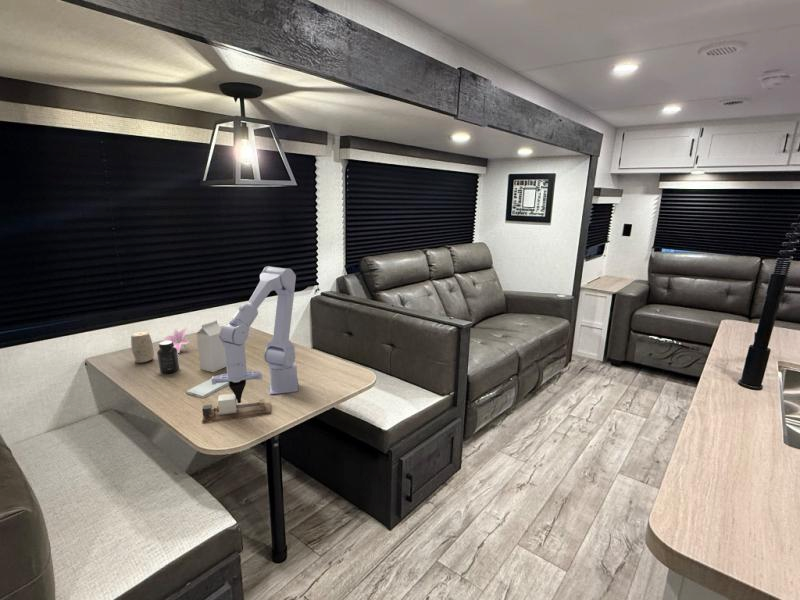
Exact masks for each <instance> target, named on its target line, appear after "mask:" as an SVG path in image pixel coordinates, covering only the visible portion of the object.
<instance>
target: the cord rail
mask: <svg viewBox="0 0 800 600" xmlns="http://www.w3.org/2000/svg"><path fill="white" fill-rule="evenodd" d="M236 408H237V413H230V414H223V415H219V408H218V405H216V407H215V405H213V404H205V405H203V406H202V418H201V419H202V420H201V423H202V422H204V423H211V422H210V421H212V422H218V421H225V420H231V419H233V420H234V419H239V418H241V419H242V418H249V417H256V416H262V415H269V414H270V415H271V413H272V412H271V408H272V407H271V402H265V399H259V402H251V403H250V402H249V403H243V404H241V403H240V404H237V405H236Z"/></svg>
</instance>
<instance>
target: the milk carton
mask: <svg viewBox="0 0 800 600" xmlns="http://www.w3.org/2000/svg"><path fill="white" fill-rule="evenodd" d="M221 328H222V327H221V326H220V324H219V323H218V320H217V319H216V320H213V321H209V322H208V323H204V324H201V328H200V329H199V330H198V331H197V332H196V340H197V349H198V360H199V369H200V370H203V371H207V372H211V373H216V372H217V371H220V370H221V369H224V368H226V358H225V347H224V346H223V342H222V341H221V340H220V338H219V334H220V331H221Z"/></svg>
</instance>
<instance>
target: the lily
mask: <svg viewBox="0 0 800 600" xmlns="http://www.w3.org/2000/svg"><path fill="white" fill-rule="evenodd" d="M187 330H188V327H185V328H182V329H181V330H178V329H177V328H176V327H175V328H174V329H173V334H171V335H168V336H165V337H163V339H162V341H168V340H170V341H173V344H174V347H175V348H176V349H177V352H178V353H179V354H180V351H181V347H182V345H183V346H184V347H186V344H189V343H190V341H189V340H188V339H186V338H185V335H186V332H187Z"/></svg>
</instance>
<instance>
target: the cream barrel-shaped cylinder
mask: <svg viewBox="0 0 800 600" xmlns="http://www.w3.org/2000/svg"><path fill="white" fill-rule="evenodd" d="M152 340H153V339H152V338H151V335H150V333H149V332H146V331H138V332H134V333H133V334H131V336H130V345H131V351H132V355H133V357H134V359H135V362H137V363H138V362H139V363H140V364H141V363H147V362H149V361H151V360H153V358H154V357H155V351H154V350H155V349H154V346H153V341H152Z"/></svg>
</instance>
